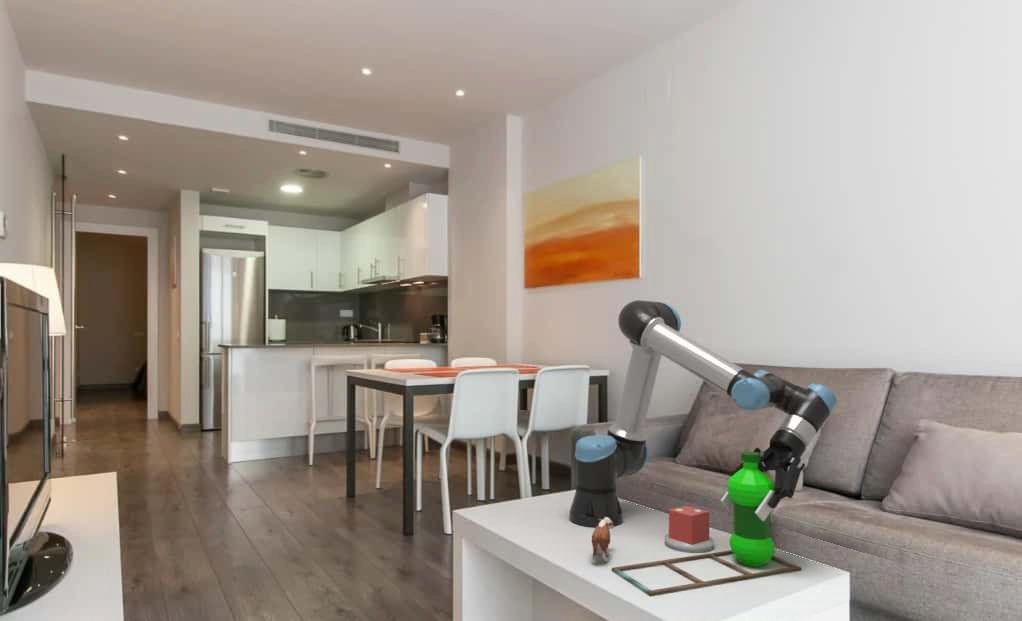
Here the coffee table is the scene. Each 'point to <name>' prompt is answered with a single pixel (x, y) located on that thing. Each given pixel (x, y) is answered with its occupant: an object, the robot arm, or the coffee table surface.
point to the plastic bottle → (750, 513)
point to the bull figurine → (601, 538)
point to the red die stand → (689, 530)
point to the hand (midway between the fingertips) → (741, 510)
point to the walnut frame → (697, 581)
